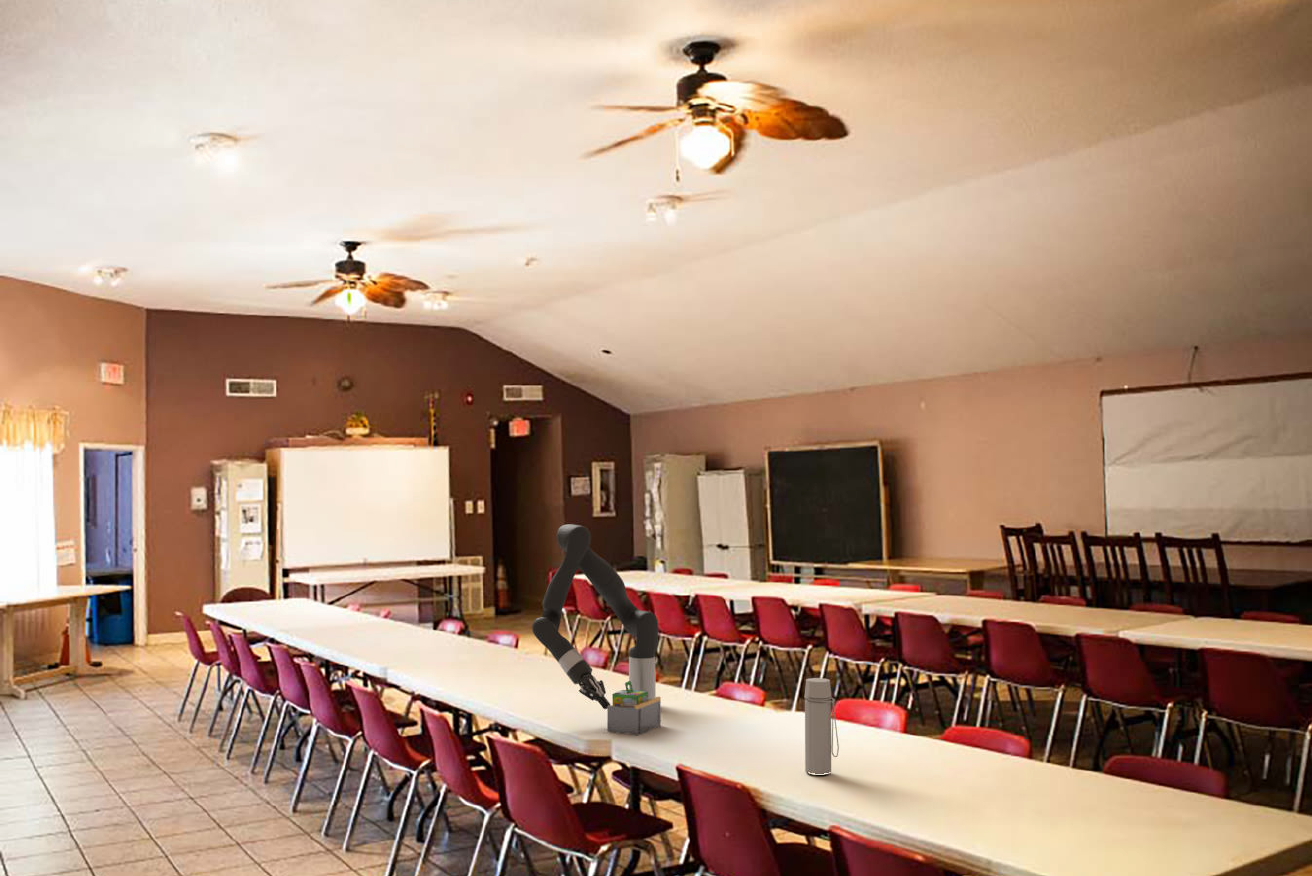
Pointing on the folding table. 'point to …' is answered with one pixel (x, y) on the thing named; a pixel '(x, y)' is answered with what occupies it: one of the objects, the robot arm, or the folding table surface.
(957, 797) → the folding table surface
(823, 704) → the water bottle
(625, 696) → the chalk box
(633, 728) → the grey rectangular box
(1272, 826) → the folding table surface
